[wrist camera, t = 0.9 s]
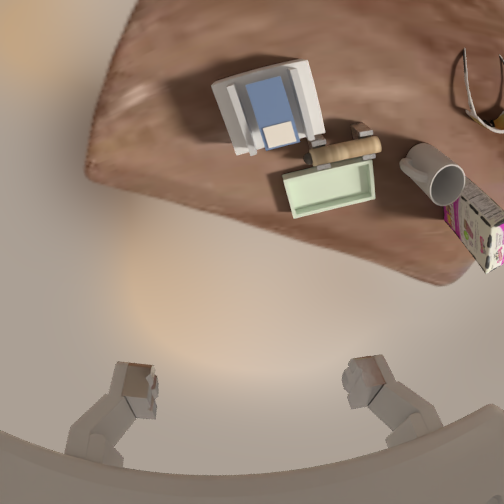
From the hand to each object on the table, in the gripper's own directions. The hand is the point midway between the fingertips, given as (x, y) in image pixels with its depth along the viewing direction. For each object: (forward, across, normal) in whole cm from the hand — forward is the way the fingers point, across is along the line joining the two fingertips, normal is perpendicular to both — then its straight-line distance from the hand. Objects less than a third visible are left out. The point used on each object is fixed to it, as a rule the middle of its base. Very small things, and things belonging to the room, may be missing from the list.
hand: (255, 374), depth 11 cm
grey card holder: (+34, -5, -9) cm, 36 cm away
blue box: (+26, -4, -8) cm, 28 cm away
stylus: (+30, -16, -4) cm, 34 cm away
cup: (+34, -31, -4) cm, 46 cm away
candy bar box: (+34, -42, +1) cm, 54 cm away
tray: (+36, -16, +3) cm, 39 cm away
